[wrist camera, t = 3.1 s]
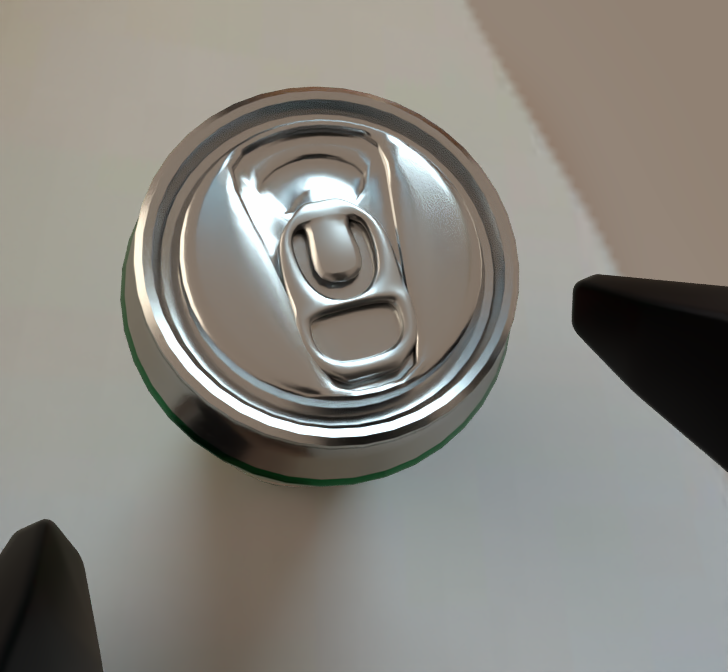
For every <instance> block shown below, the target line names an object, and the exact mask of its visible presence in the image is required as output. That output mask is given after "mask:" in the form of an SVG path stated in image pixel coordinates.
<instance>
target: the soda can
mask: <svg viewBox="0 0 728 672" xmlns="http://www.w3.org/2000/svg"><path fill="white" fill-rule="evenodd" d="M518 293H519V262H518V256H517V249H516V242H515V237H514V234H513V231H512V227H511V224H510V221H509V217H508V214H507V212H506V210H505V208H504V206H503V204H502V202H501V199H500V197H499V195H498V193H497V191H496V189H495V188H494V186H493V185H492V183H491V182H490V180H489V179H488V177H487V176H486V174H485V173H484V171H483V170H482V168H481V167H480V166H479V165H478V163H477V162H476V161H475V160H474V159H473V158H472V157H471V155H470V154H469V153H468V152H467V151H466V150H465V149H464V148H463V147H462V146H461V145H460V144H459V143H458V142H457V141H455V140H454V139H453V138H452V137H451V136H450V135H449V134H447V133H446V132H445V131H444V130H443V129H441V128H440V127H438V126H437V125H435V124H434V123H432V122H431V121H429V120H428V119H426V118H425V117H423V116H422V115H420V114H418V113H416V112H414V111H412V110H410V109H408V108H406V107H404V106H402V105H400V104H398V103H395V102H392V101H389V100H386V99H383V98H381V97H378V96H375V95H372V94H368V93H363V92H358V91H353V90H348V89H343V88H328V87H304V88H289V89H283V90H279V91H274V92H269V93H264V94H260V95H257V96H255V97H252V98H249V99H246V100H244V101H241V102H238V103H235V104H233V105H231V106H230V107H228V108H226V109H224V110H222V111H220V112H219V113H217V114H215V115H213V116H211V117H210V118H208V119H207V120H206V121H205V122H203V123H202V124H201V125H199V126H198V127H197V128H195V129H194V130H193V131H192V132H190V133H189V134H188V135H187V136H186V137H185V138H184V139H183V140H182V141H181V142H180V143H179V144H178V145H177V147H176V148H175V149H174V150H173V151H172V152H171V153H170V154H169V155H168V157H167V158H166V160H165V161H164V163H163V164H162V166H161V167H160V169H159V170H158V172H157V173H156V175H155V176H154V178H153V180H152V182H151V185H150V187H149V189H148V192H147V194H146V196H145V199H144V201H143V203H142V206H141V211H140V215H139V218H138V220H137V222H136V225H135V227H134V229H133V232H132V234H131V236H130V239H129V242H128V246H127V251H126V255H125V259H124V263H123V267H122V280H121V298H120V300H121V308H122V317H123V325H124V332H125V335H126V338H127V341H128V345H129V348H130V351H131V355H132V358H133V361H134V363H135V365H136V367H137V369H138V371H139V373H140V375H141V377H142V379H143V381H144V383H145V385H146V387H147V389H148V391H149V392H150V393H151V395H152V396H153V397H154V399H155V400H156V401H157V403H158V404H159V405H160V407H161V408H162V409H163V411H164V412H165V413H166V415H167V416H168V417H169V418H170V419H171V420H172V421H173V422H174V423H175V424H176V425H177V426H178V427H179V428H180V429H181V430H182V431H183V432H184V433H185V434H186V435H187V436H189V437H190V438H191V439H192V440H193V441H194V442H195V443H197V444H198V445H200V446H201V447H203V448H204V449H206V450H207V451H209V452H210V453H212V454H213V455H215V456H216V457H218V458H219V459H221V460H222V461H224V462H226V463H228V464H230V465H231V466H233V467H235V468H237V469H238V470H240V471H242V472H244V473H246V474H247V475H249V476H251V477H253V478H255V479H258V480H260V481H262V482H266V483H269V484H273V485H279V486H295V487H323V486H339V485H354V484H358V483H362V482H367V481H371V480H375V479H380V478H384V477H387V476H389V475H392V474H394V473H397V472H399V471H401V470H404V469H406V468H409V467H411V466H413V465H415V464H417V463H419V462H420V461H422V460H423V459H425V458H427V457H428V456H430V455H431V454H433V453H435V452H436V451H438V450H439V449H441V448H442V447H443V446H444V445H446V444H447V443H448V442H449V441H450V440H451V439H452V438H453V437H455V436H456V435H457V434H458V433H459V432H460V431H461V430H462V429H464V428H465V426H466V425H467V424H468V423H469V421H470V420H471V419H472V418H473V416H474V415H475V414H476V413H477V411H478V410H479V409H480V408H481V406H482V405H483V403H484V401H485V400H486V398H487V396H488V394H489V392H490V391H491V389H492V387H493V385H494V384H495V382H496V380H497V377H498V374H499V372H500V369H501V366H502V363H503V360H504V358H505V355H506V351H507V345H508V340H509V334H510V329H511V326H512V323H513V320H514V315H515V310H516V304H517V299H518Z"/></svg>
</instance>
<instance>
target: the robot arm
mask: <svg viewBox="0 0 728 672" xmlns="http://www.w3.org/2000/svg"><path fill="white" fill-rule="evenodd" d="M572 325H573V327H574V330H575V331H576V333H577V334H578V335H579V336H580V337H581V338H582V339H583V340H584V342H585V343H586V344H587V345H588V346H589V347H590V348H591V349H592V350H593V351H594V352H595V353H596V354H597V355H598V356H599V357H600V358H601V359H602V360H603V361H604V362H605V363H606V364H607V365H608V366H609V367H610V368H611V369H612V371H613V372H614V373H615V374H616V375H617V376H618V377H619V378H620V379H621V380H622V381H623V382H624V383H625V384H626V385H627V386H628V387H629V388H630V389H631V390H632V391H633V392H634V393H636V394H637V395H638V396H639V397H640V398H641V399H642V400H643V401H645V402H646V403H647V404H648V405H649V406H650V407H652V408H653V409H654V410H655V411H656V412H658V413H659V414H660V415H661V416H662V417H663V418H665V419H666V420H667V421H668V422H669V423H670V424H672V425H673V426H674V427H675V428H676V429H678V430H679V431H680V432H681V433H682V434H683V435H685V436H686V437H687V438H688V439H689V440H690V441H692V442H693V443H694V444H695V445H696V446H698V447H699V448H700V449H701V450H702V451H703V452H705V453H706V454H707V455H708V456H709V457H710V458H712V459H713V460H714V461H715V462H716V463H717V464H719V465H720V466H721V467H722V468H723V469H725V470H726V471H727V472H728V287H725V286H715V285H706V284H694V283H685V282H674V281H663V280H652V279H642V278H632V277H621V276H611V275H600V274H596V275H592V276H590V277H587V278H585V279H583V280H581V281H579V282H577V283H576V284H575V286H574V288H573V301H572ZM0 672H103V667H102V661H101V655H100V649H99V643H98V638H97V633H96V627H95V622H94V616H93V611H92V605H91V600H90V594H89V589H88V584H87V578H86V573H85V568H84V564H83V561H82V559H81V557H80V555H79V553H78V552H77V550H76V549H75V548H74V547H73V545H72V544H71V543H70V542H69V540H68V539H67V538H66V537H65V535H64V534H63V533H62V532H61V530H60V529H59V528H58V527H57V525H56V524H55V523H54V522H52V521H51V520H48V519H43V520H40V521H38V522H36V523H34V524H31V525H29V526H27V527H25V528H22V529H20V530H19V531H17V532H16V533H14V535H13V536H12V537H11V539H10V540H9V542H8V543H7V545H6V546H5V548H4V549H3V551H2V552H1V554H0Z"/></svg>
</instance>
